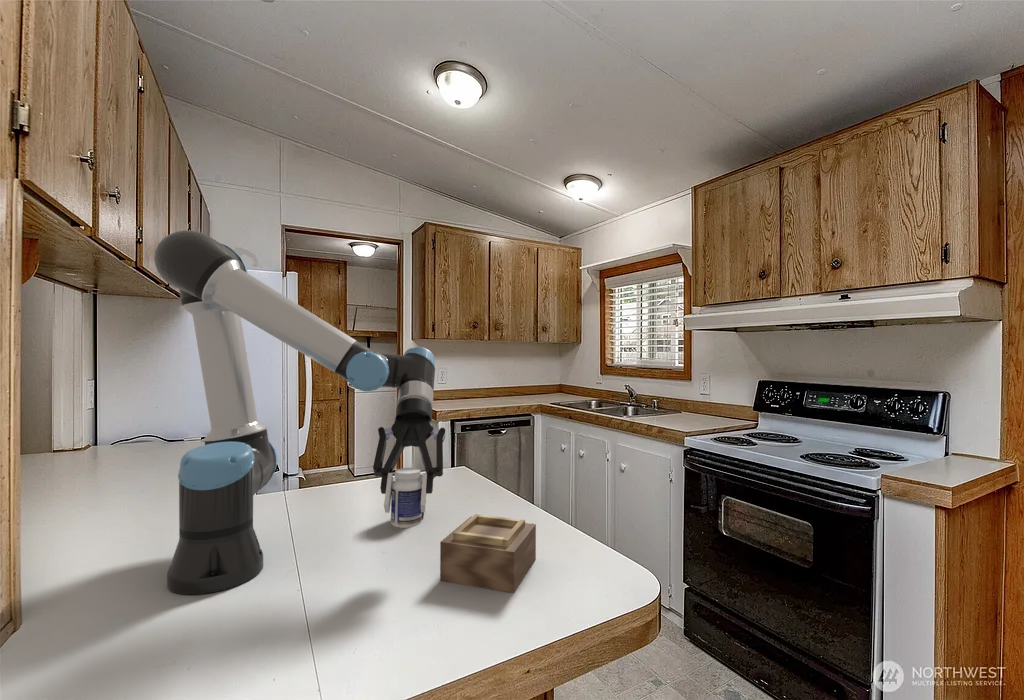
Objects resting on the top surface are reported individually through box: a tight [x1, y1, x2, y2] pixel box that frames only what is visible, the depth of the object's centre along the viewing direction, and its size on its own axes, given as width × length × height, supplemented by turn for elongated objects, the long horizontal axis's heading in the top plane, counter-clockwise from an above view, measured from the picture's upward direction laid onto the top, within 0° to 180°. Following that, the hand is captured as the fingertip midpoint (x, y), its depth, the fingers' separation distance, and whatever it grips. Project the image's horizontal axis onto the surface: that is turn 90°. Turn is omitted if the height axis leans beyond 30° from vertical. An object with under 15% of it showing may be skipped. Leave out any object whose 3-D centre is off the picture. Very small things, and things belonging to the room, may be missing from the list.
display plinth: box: [439, 513, 537, 594], centre depth 92 cm, size 14×14×8 cm
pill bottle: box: [390, 467, 423, 529], centre depth 91 cm, size 6×6×10 cm
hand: (404, 508), depth 87 cm, fingers closed on pill bottle, 6 cm apart
